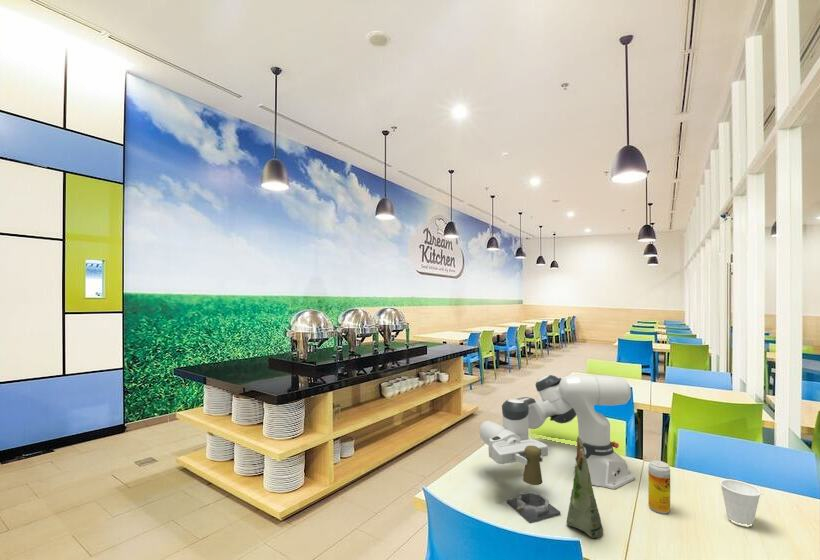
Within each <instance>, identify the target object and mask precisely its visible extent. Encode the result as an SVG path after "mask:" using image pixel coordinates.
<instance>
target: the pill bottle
mask: <svg viewBox="0 0 820 560" xmlns="http://www.w3.org/2000/svg"><path fill="white" fill-rule="evenodd" d="M669 465H670V464H669V463H667V462H665V461H663V460H658V459H652V460H650V461H649V463H648V493H647V494H648V495H647V496H648V497H647V498H648V503H647V504H648V506H649V507H650V509H651V510H652V511H653V512H655V513H658V514H662V515H663V514H664V515H666V514H668V513H669V512H670V511H671V468H670V466H669Z"/></svg>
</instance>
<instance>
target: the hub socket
mask: <svg viewBox="0 0 820 560" xmlns="http://www.w3.org/2000/svg"><path fill="white" fill-rule="evenodd" d="M506 504H507V505H508V506H509V507H511V509H512V510H514V511H515V512H516V513H518V514H519V515H520V516H521V517H522V518H523V519H524V520H525V521H527V522H528V523H529V524H532V523H535V522H540V521H543V520H547V519H552V518H555V517H558V516H561V511H560V510H559V509H557V508H556V507H555V506H553V505H552V504H551V503H550V499H548V498H547V497H546V496H544V495H543V494H541V493H537V492H533V491H524V492H519V493H518V495H517V497H513V498H509V499H506Z"/></svg>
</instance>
